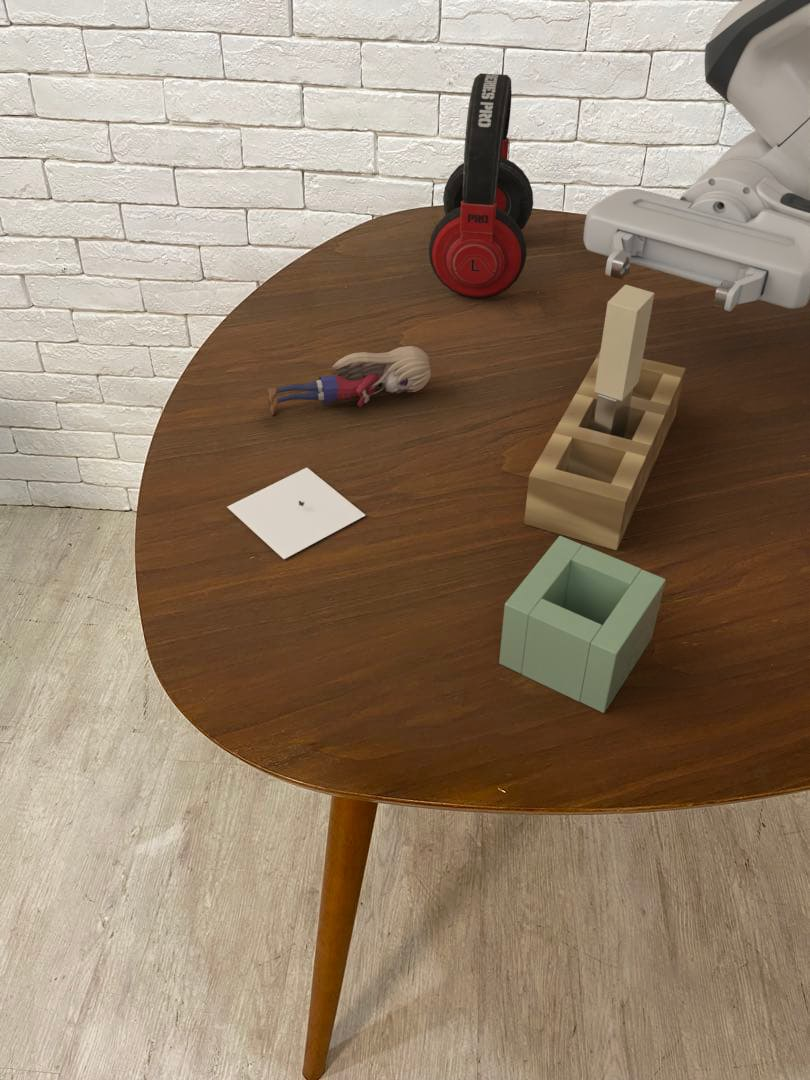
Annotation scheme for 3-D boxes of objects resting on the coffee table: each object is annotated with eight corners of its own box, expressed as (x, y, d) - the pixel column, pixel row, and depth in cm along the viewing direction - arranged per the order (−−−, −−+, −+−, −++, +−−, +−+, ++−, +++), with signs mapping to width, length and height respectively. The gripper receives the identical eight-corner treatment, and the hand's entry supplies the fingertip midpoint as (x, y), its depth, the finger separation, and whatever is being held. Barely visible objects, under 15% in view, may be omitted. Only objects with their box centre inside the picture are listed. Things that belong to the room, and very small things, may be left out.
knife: (625, 459, 90) (655, 291, 79) (607, 481, 87) (636, 312, 77) (599, 450, 91) (626, 283, 80) (581, 472, 88) (606, 303, 78)
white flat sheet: (226, 507, 85) (225, 499, 84) (306, 467, 89) (306, 460, 88) (283, 559, 80) (283, 552, 80) (365, 515, 84) (365, 507, 83)
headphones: (520, 313, 107) (538, 116, 94) (424, 305, 109) (428, 109, 95) (530, 235, 120) (547, 51, 107) (444, 228, 121) (450, 46, 108)
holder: (652, 638, 74) (666, 578, 70) (603, 714, 70) (616, 654, 66) (551, 594, 78) (559, 534, 74) (498, 663, 73) (504, 603, 69)
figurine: (270, 402, 90) (439, 371, 92) (260, 358, 91) (427, 328, 93) (274, 431, 96) (433, 401, 97) (265, 389, 97) (422, 360, 99)
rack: (594, 395, 97) (601, 348, 93) (675, 415, 94) (685, 368, 91) (523, 524, 84) (528, 475, 80) (616, 550, 81) (626, 501, 78)
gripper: (624, 159, 96) (556, 217, 88) (849, 214, 88) (798, 284, 79) (615, 223, 100) (549, 284, 92) (829, 282, 92) (778, 355, 84)
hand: (666, 285), depth 86 cm, fingers open, 8 cm apart
